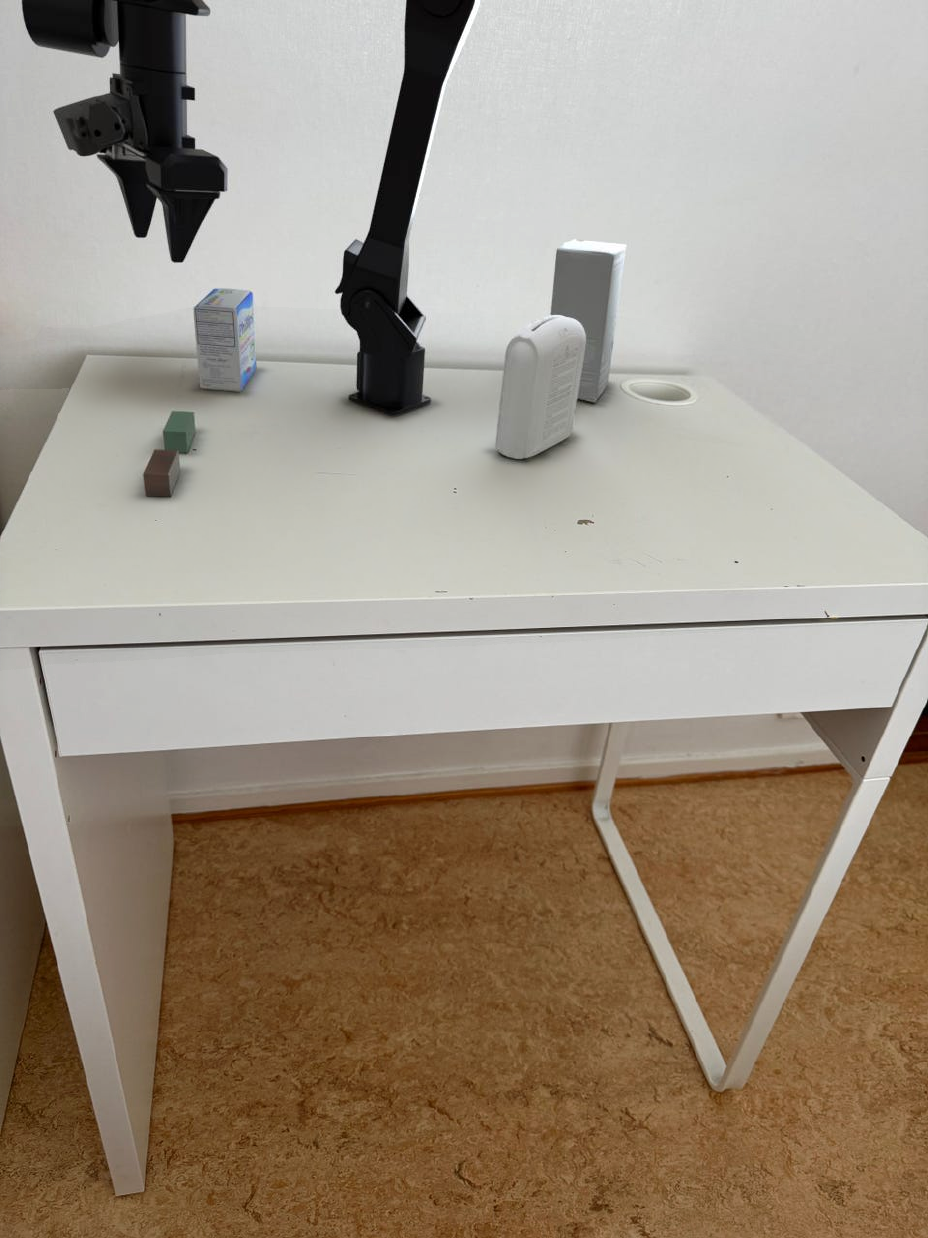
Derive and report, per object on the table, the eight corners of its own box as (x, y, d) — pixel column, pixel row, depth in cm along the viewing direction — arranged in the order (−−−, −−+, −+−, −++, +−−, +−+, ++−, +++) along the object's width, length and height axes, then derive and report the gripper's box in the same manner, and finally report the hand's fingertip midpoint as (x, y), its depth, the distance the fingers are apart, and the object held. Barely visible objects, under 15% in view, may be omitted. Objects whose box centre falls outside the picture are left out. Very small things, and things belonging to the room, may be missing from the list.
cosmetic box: (596, 404, 102) (621, 255, 93) (534, 393, 103) (554, 245, 95) (610, 383, 109) (634, 242, 100) (552, 372, 110) (571, 233, 102)
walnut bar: (170, 497, 74) (168, 474, 73) (145, 496, 74) (142, 473, 73) (180, 471, 79) (178, 449, 77) (156, 470, 78) (154, 448, 77)
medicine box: (241, 393, 95) (237, 309, 91) (198, 389, 95) (192, 305, 91) (257, 369, 102) (254, 289, 97) (217, 366, 102) (212, 286, 97)
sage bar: (187, 453, 82) (185, 431, 81) (164, 452, 82) (162, 430, 81) (195, 431, 86) (194, 411, 85) (173, 430, 86) (171, 410, 85)
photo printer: (541, 424, 95) (557, 303, 89) (577, 436, 93) (596, 313, 87) (487, 452, 88) (501, 322, 81) (525, 465, 86) (542, 333, 79)
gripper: (26, 42, 83) (43, 224, 91) (99, 72, 72) (110, 277, 80) (147, 57, 89) (152, 226, 98) (231, 87, 78) (229, 275, 86)
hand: (158, 249), depth 90 cm, fingers open, 9 cm apart
